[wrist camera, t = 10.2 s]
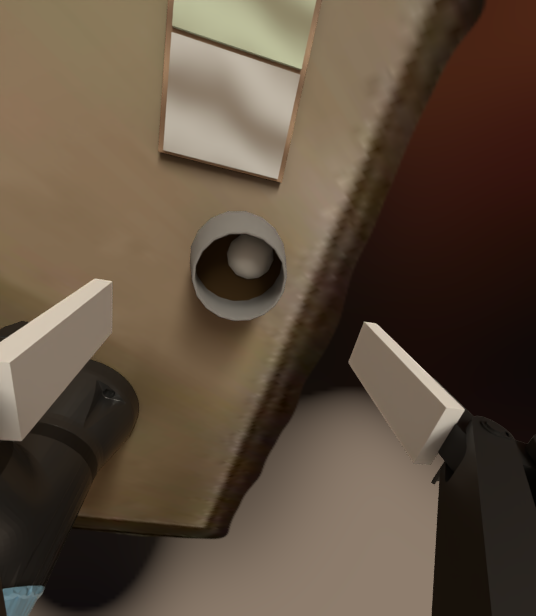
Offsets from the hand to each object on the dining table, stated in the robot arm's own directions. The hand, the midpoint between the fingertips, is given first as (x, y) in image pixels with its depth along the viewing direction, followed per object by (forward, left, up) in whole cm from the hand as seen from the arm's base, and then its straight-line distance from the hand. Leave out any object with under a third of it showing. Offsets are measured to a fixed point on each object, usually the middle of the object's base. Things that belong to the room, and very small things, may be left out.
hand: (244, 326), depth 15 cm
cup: (0, 0, -19) cm, 19 cm away
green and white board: (+17, +3, -18) cm, 25 cm away
